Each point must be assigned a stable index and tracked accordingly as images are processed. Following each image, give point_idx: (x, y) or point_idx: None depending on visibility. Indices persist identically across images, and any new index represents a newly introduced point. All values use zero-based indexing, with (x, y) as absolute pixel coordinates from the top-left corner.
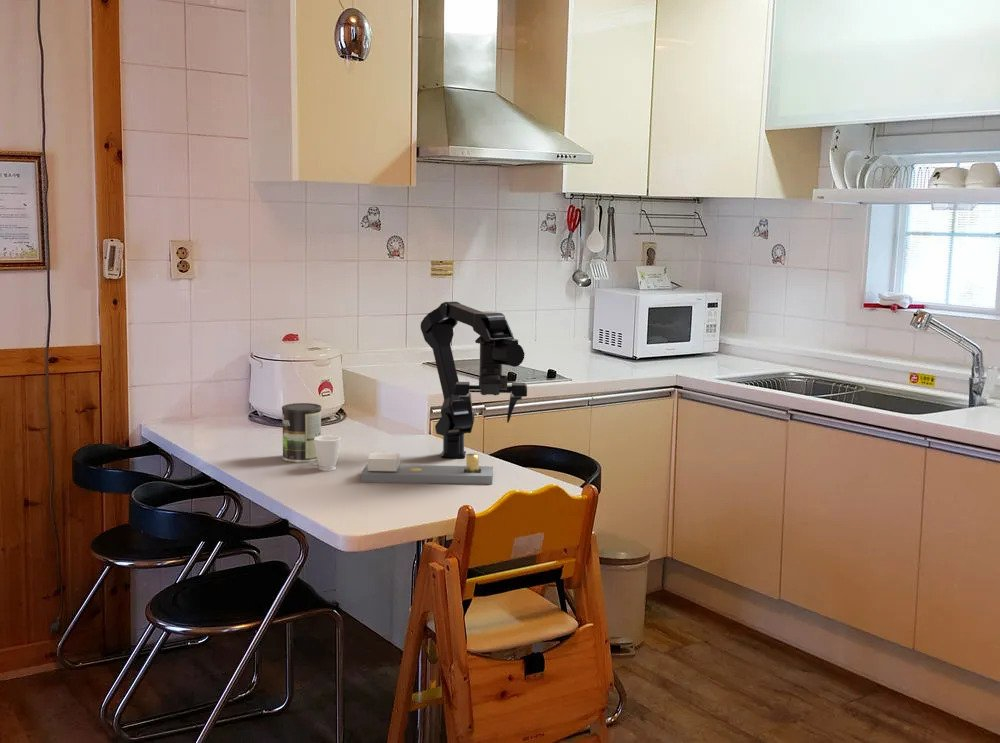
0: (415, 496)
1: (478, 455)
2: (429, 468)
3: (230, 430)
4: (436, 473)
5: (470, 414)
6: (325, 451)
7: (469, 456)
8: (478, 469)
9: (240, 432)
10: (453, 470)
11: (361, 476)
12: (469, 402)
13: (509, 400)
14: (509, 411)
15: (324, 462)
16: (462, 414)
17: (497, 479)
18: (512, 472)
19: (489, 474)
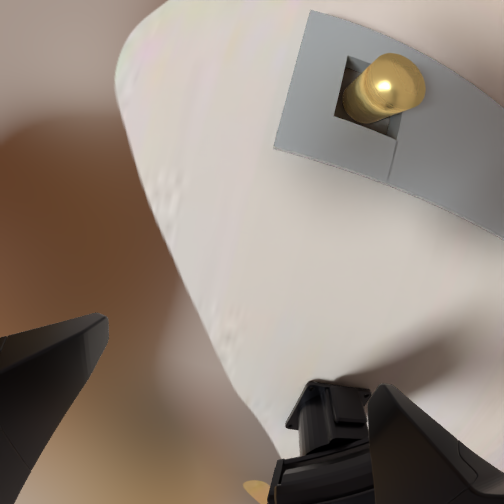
0: (495, 19)
1: (373, 63)
2: (489, 182)
3: None
4: (481, 109)
5: (423, 417)
6: None
7: (414, 65)
8: (352, 84)
9: (499, 468)
10: (435, 125)
11: None
12: (486, 488)
13: (26, 477)
14: (31, 345)
15: None
16: (341, 499)
17: (274, 73)
18: (191, 165)
19: (317, 29)
